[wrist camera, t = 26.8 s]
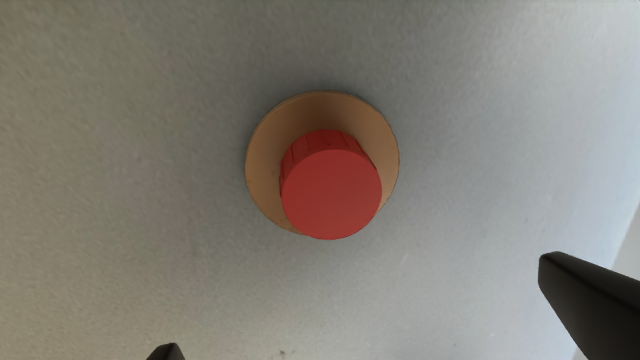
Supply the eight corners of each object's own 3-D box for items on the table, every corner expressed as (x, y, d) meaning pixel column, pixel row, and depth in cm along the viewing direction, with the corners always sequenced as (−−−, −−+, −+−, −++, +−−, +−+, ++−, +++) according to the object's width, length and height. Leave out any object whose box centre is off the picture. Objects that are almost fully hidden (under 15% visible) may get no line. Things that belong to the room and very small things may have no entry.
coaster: (386, 73, 16) (390, 75, 16) (403, 212, 19) (407, 218, 19) (225, 109, 16) (223, 113, 16) (267, 244, 19) (267, 251, 19)
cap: (384, 154, 17) (402, 177, 15) (338, 223, 18) (348, 254, 16) (308, 111, 16) (314, 129, 14) (263, 188, 17) (262, 216, 15)
